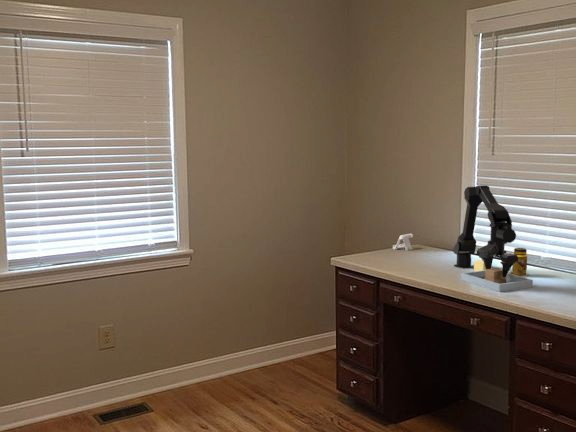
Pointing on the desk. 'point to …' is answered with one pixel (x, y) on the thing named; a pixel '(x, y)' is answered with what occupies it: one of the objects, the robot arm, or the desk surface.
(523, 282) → the gray tray
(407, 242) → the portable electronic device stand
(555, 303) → the desk surface
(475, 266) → the mustard box
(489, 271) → the walnut block
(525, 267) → the condiment
